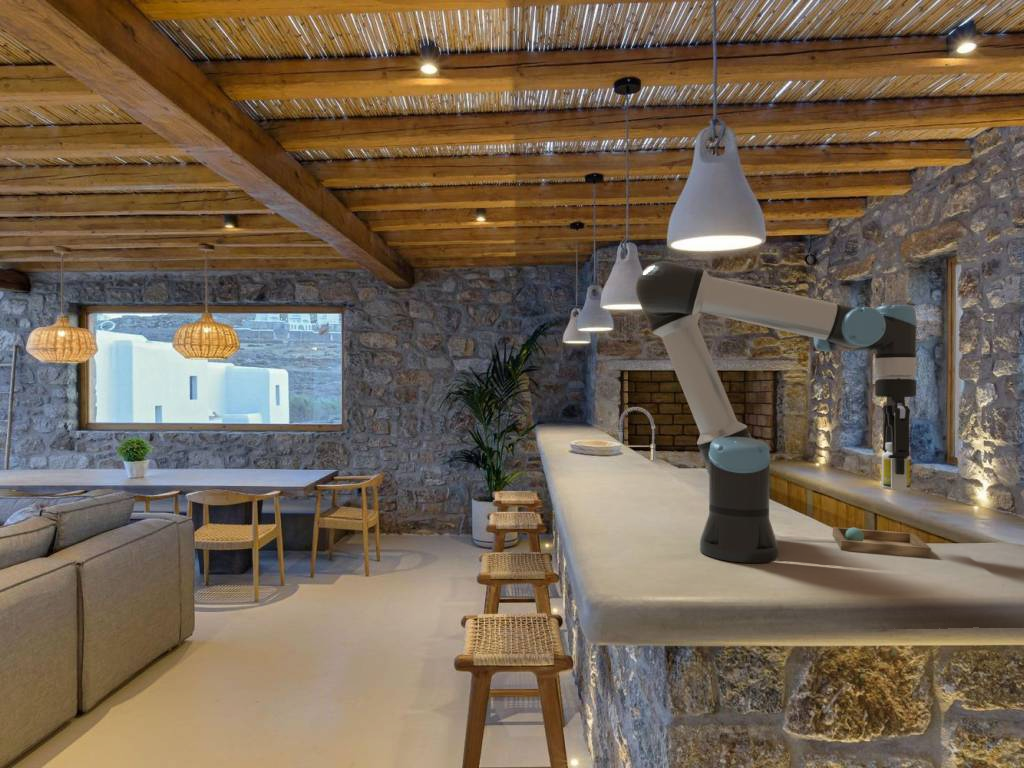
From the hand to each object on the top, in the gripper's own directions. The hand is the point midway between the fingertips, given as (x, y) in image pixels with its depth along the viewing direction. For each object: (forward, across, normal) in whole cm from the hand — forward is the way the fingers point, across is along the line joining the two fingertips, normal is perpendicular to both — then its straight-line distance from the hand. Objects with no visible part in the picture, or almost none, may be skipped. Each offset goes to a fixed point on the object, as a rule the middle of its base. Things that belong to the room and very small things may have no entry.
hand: (895, 487), depth 135 cm
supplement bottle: (+1, 0, 0) cm, 1 cm away
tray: (+13, 0, +3) cm, 14 cm away
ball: (+13, 0, +8) cm, 15 cm away
